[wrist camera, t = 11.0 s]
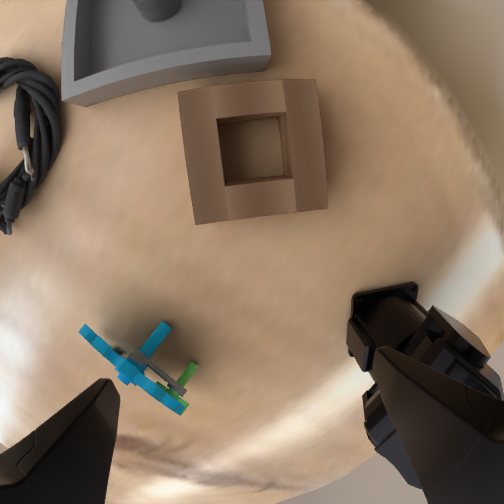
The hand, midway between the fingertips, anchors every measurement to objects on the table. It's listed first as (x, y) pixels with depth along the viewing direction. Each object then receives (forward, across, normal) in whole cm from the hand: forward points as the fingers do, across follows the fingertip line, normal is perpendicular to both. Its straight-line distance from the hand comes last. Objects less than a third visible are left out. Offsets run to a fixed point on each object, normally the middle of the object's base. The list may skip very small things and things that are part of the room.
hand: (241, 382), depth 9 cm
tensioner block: (+13, -2, -7) cm, 15 cm away
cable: (+14, +20, -14) cm, 28 cm away
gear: (+13, +9, +8) cm, 18 cm away
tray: (+13, +3, -19) cm, 23 cm away
